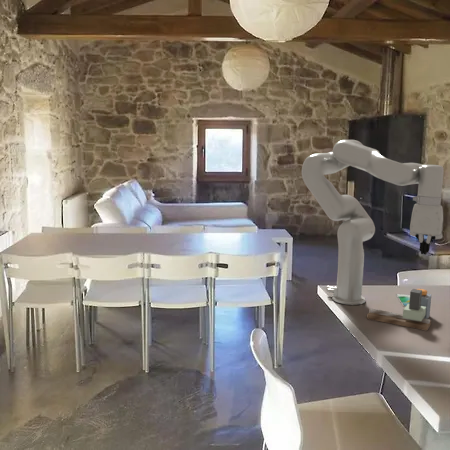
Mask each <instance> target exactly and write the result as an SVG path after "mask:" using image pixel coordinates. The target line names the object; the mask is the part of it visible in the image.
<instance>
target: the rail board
mask: <svg viewBox="0 0 450 450" xmlns="http://www.w3.org/2000/svg"><path fill="white" fill-rule="evenodd" d="M366 319H367V320H372V321H378V322H381V323H386V324H392V325H396V326H401V327H402V326H403V327H408V328H413V329H416V330H417V329H418V330H421V331H426V332H427V331H428V330H429V328H430V326H431V325H432V319H429V318H428V319H424V318H423V320H422V321H417V320H412V319H406V318H403V313H397V312H393V311H386V310H381V309H376V308H370V309H369V312H368V313H367V314H366Z"/></svg>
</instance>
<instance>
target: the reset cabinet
mask: <svg viewBox="0 0 450 450" xmlns="http://www.w3.org/2000/svg"><path fill="white" fill-rule="evenodd" d="M431 303H432V293H427V295H425V297H422V298H421V306H424V307H426V315H425V317H424V319H429V317H430V316H431V305H432V304H431Z"/></svg>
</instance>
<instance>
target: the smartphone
mask: <svg viewBox="0 0 450 450" xmlns="http://www.w3.org/2000/svg"><path fill="white" fill-rule="evenodd" d="M396 296H397V297H396ZM395 297H396V298H397V300H398V301H399V302H400V303H401V305H402V307H403V308H405V307H406V306H407V304H409V302H410V294H405V293H402V294H401V293H396V294H395Z"/></svg>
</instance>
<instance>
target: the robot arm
mask: <svg viewBox="0 0 450 450" xmlns="http://www.w3.org/2000/svg"><path fill="white" fill-rule="evenodd" d="M349 167H352V168H356V169H358V170H361V171H364V172H367V173H368V174H370V175H371V176H373V177H375V178H377V179H380V180H381V181H384V182H387V183H390V184H393V185H396V186H402V187H403V186H409V185H416V184H417V185H418V188H417V195H416V196H412V201H415V202H416V203H415V204H413V208H412V210H411V211H412V212H411V218H410V225H409V233H408V234H409V235H410V237H411V236H412V237H414V238H416V239H417V240H418V242H419V252H420V255H425V256H426V255H427V254H428V253H430V248H431V247H430V245H431V242H433V241H434V240H441V239H443V227H444V210H443V206H442V203H441V202H442V192H443V182H444V170H445V169H444V167H443V166H442V165H438V164H422V163H417V162H404V163H403V162H398V161H396V160H392V159H390V158H387V157H385V156H384V155H381V153H380V151H379V150H377V149H376V148H372V147H369V146H366V145H364V144H363V143H362V142H360V141H359V140H355V139H342V140H339V141H337V142H336V143H335V144H334V146H333V148H332V150H331V151H329V152H320V153H313V154H311V155H309V156H307V157H306V158H305V159H304V161H303V163H302V167H301V177H302V178H301V179H302V181H303V183H304V185H305V187H307V189H308V190H309V192H310V193H311V195H313V197H314V199H315V200H316V202H317V203H318V205H319V207H320V208H321V210H323V211H324V213H325V214H326V216H327V217H328V218H329V219H330V220H332V221H333V222H334V221H335V222H339V221H343V222H342V223H341V224H340V225H339V226H338V229H337V231H336V232H337V233H336V234H337V236H336V237H337V244H338V246H337V247H338V254H337V255H338V256H337V259H338V260H337V275H336V276H337V278H336V285H335V286H332V285H327V286H326V291H327V293H332V295H331V299H332V301H334V302H335V303H338V304H342V305H349V306H356V305H357V306H358V305H362V304H365V303H366V297H365V296H364V295H362V294H363V293H362V292H363V281H364V280H363V279H364V263H365V249H364V245H363V243H364V242H366V241H369V240H371V239H372V238H373V236H374V235H375V234H376V227H375V223H374V221H373V219H372V218H371V217H370V215H369V214H368V212H367V211H366V210H365V208H364V207H363V205H361V203H360V202H359V201H358V199H357V198H355V196H352V195H350V194H340V192H339V191H338V190H337V188H336V187H335V186H334V184H333V183H332V182H331V181H330V180H329V179H328V178H326V176H325V175H332V174H335V173H338V172H341V170H345V168H349ZM425 236H426V237H427V238H426V240H425Z"/></svg>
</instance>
